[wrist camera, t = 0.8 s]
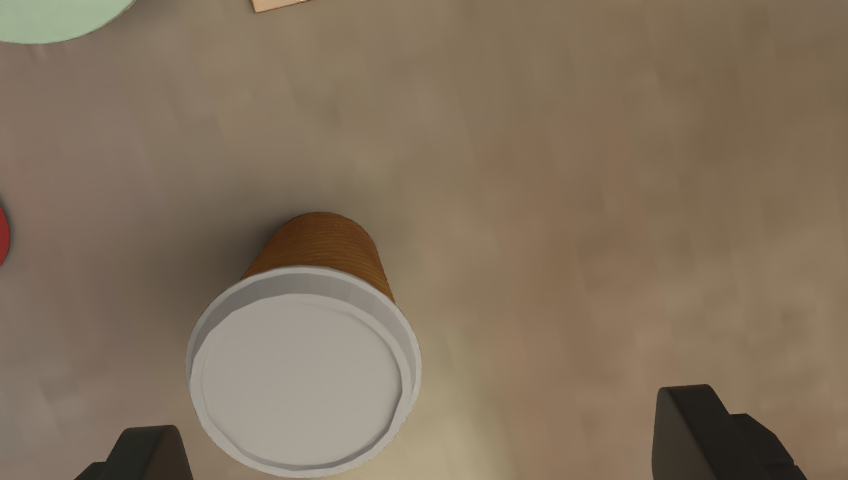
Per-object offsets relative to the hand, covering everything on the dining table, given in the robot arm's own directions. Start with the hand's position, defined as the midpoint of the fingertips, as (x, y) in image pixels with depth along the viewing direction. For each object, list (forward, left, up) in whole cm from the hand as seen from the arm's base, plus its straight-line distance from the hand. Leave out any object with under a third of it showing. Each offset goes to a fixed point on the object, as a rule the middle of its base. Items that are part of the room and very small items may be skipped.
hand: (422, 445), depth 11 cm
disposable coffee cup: (-5, -7, -26) cm, 27 cm away
